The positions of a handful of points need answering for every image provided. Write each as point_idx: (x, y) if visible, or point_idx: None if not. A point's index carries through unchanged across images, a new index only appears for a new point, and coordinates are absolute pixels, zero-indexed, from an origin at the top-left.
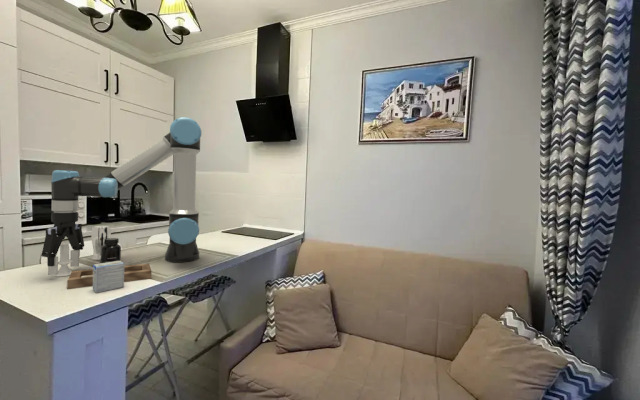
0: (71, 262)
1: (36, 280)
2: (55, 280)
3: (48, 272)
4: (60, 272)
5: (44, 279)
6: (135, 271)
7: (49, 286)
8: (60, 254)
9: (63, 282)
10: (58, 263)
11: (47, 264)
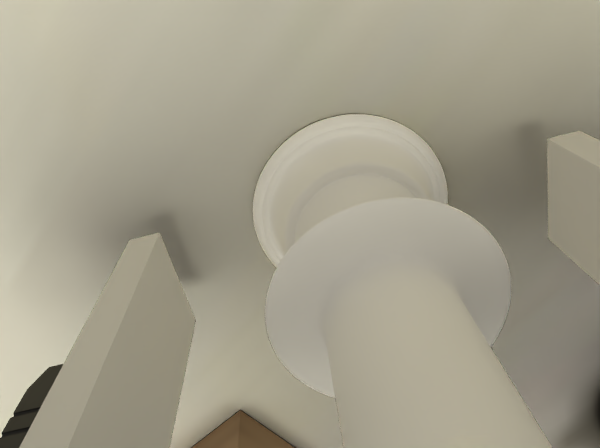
0: (587, 182)
1: (47, 139)
2: None
3: (122, 262)
4: (285, 251)
5: (117, 188)
6: None
7: None
8: (350, 443)
9: None
10: (271, 322)
11: (24, 398)
